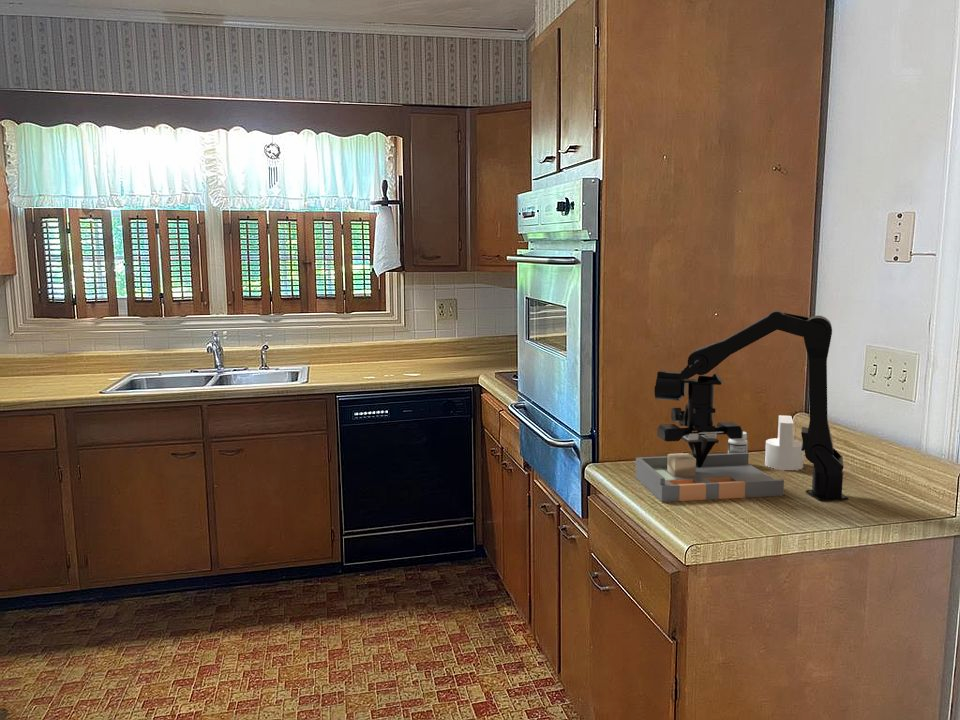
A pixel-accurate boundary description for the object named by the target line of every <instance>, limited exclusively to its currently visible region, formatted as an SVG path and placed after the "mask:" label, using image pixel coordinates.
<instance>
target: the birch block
mask: <svg viewBox="0 0 960 720" xmlns="http://www.w3.org/2000/svg"><path fill="white" fill-rule="evenodd" d="M691 455H692V454H690V453H689V452H683V453H681V452H680V453H667V456H668V460H667V470H668V471H669V472H670V473H671V474H672V475H674V476H695V475H696V458H694V457H693V456H691Z"/></svg>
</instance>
